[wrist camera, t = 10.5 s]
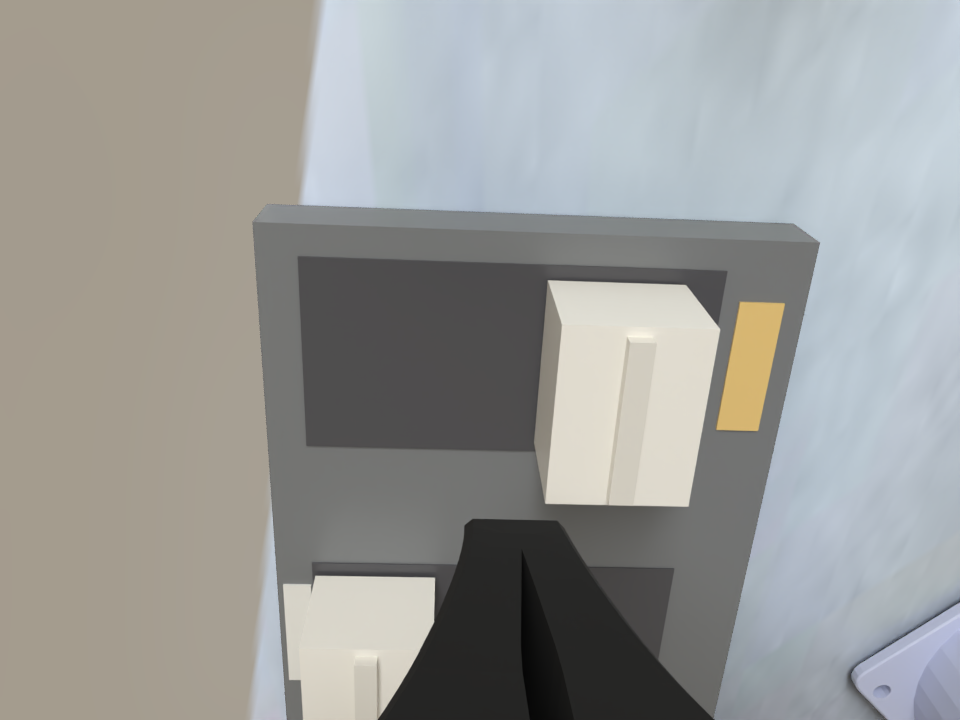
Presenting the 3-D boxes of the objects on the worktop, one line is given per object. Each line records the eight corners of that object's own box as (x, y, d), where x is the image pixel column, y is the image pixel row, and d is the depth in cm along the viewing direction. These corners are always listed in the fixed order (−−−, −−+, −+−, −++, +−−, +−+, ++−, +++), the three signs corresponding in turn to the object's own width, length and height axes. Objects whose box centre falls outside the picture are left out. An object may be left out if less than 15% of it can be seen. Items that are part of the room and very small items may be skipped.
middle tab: (431, 694, 23) (429, 785, 20) (320, 694, 22) (304, 784, 20) (435, 577, 21) (433, 660, 18) (315, 575, 21) (296, 658, 18)
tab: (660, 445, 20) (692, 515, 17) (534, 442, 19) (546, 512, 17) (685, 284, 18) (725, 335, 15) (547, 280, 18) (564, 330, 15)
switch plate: (662, 854, 28) (673, 901, 27) (306, 855, 28) (298, 902, 26) (793, 223, 19) (820, 243, 18) (266, 203, 19) (252, 222, 17)
